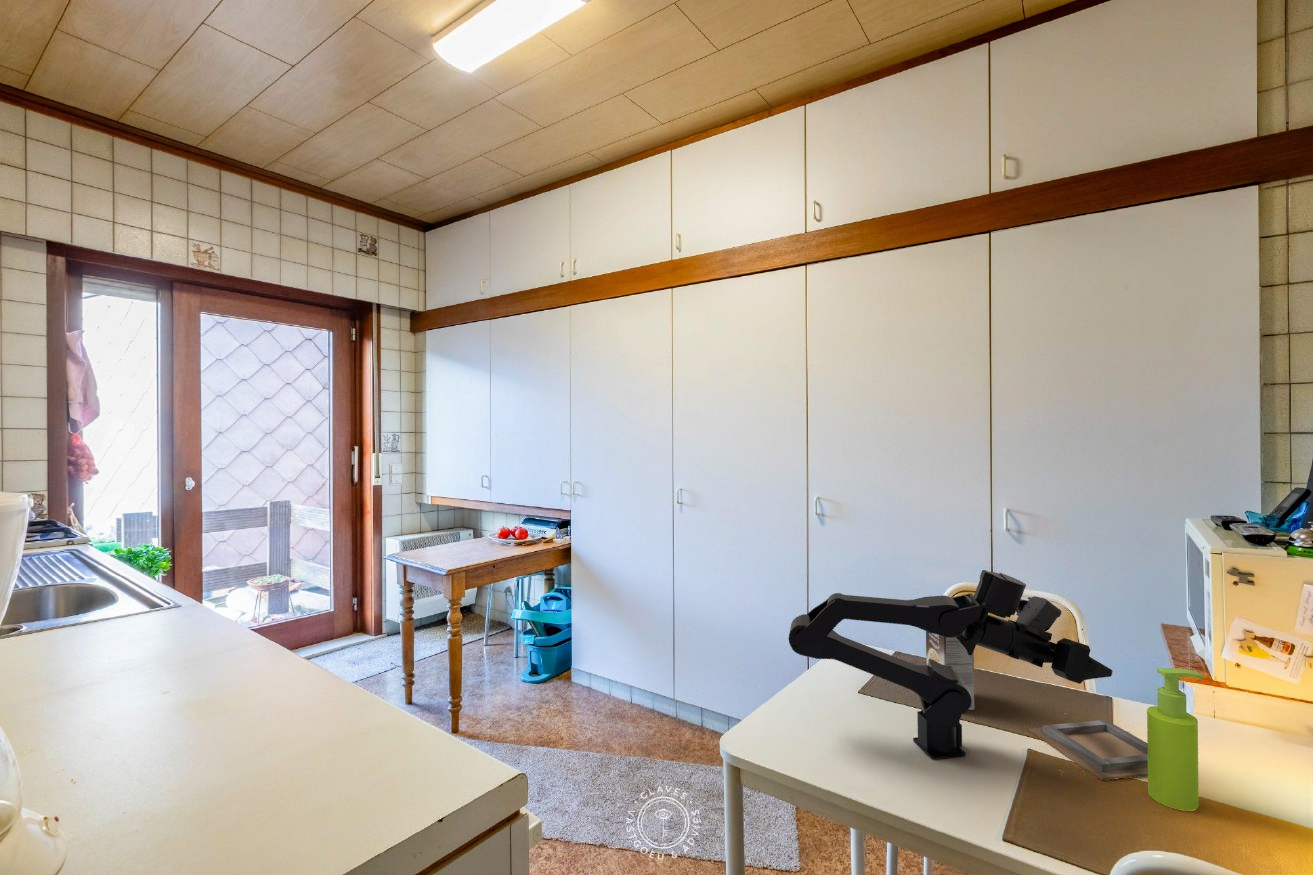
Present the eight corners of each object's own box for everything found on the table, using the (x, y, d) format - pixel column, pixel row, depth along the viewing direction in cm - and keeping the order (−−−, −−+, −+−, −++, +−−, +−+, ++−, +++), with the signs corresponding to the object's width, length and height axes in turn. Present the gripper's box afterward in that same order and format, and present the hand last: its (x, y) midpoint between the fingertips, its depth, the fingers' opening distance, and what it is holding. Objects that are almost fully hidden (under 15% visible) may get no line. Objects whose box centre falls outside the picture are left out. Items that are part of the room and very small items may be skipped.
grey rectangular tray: (1101, 780, 97) (1101, 770, 97) (1029, 731, 113) (1029, 722, 113) (1190, 771, 98) (1189, 761, 98) (1106, 724, 114) (1106, 715, 114)
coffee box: (925, 691, 130) (923, 618, 130) (954, 690, 130) (953, 617, 130) (944, 711, 121) (943, 632, 121) (976, 710, 121) (975, 632, 121)
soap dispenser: (1216, 814, 88) (1215, 679, 88) (1162, 809, 89) (1161, 676, 89) (1189, 790, 94) (1188, 663, 93) (1139, 786, 95) (1138, 661, 95)
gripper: (1047, 599, 96) (1144, 631, 95) (987, 585, 115) (1067, 611, 114) (1030, 667, 95) (1128, 700, 94) (972, 642, 113) (1053, 669, 112)
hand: (1092, 666), depth 103 cm, fingers open, 9 cm apart
